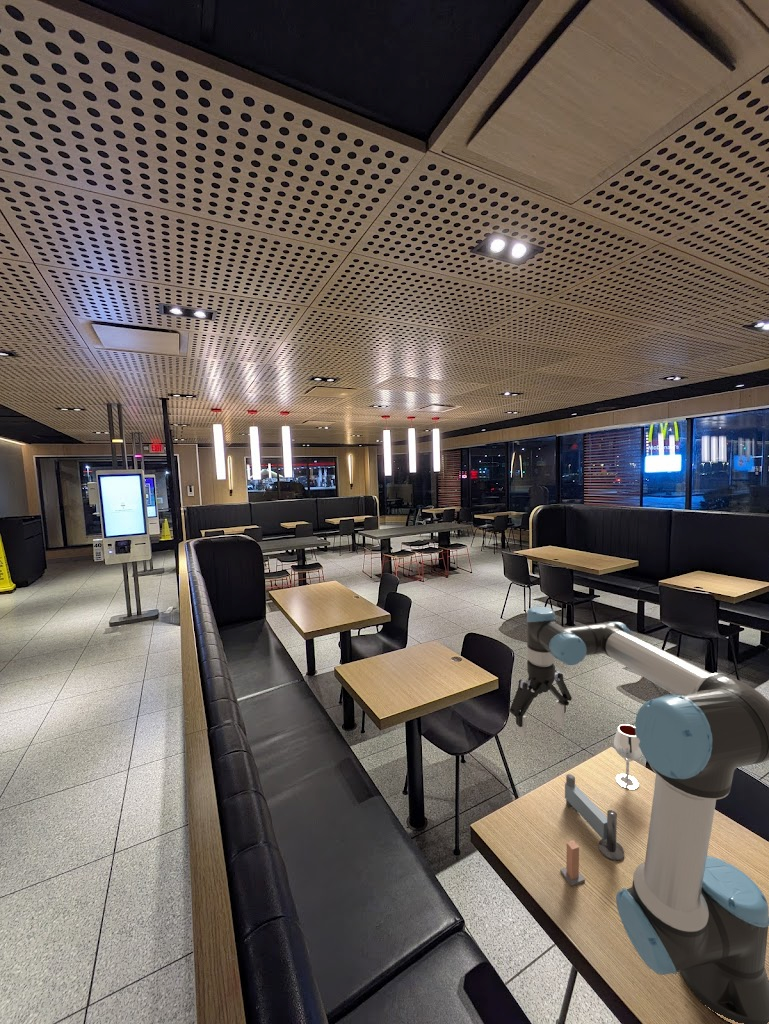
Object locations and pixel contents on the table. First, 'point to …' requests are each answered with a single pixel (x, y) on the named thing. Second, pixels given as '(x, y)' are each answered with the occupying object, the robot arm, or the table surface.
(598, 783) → the table surface
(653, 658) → the robot arm
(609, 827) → the hinge post
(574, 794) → the gate
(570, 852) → the post
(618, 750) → the wineglass
